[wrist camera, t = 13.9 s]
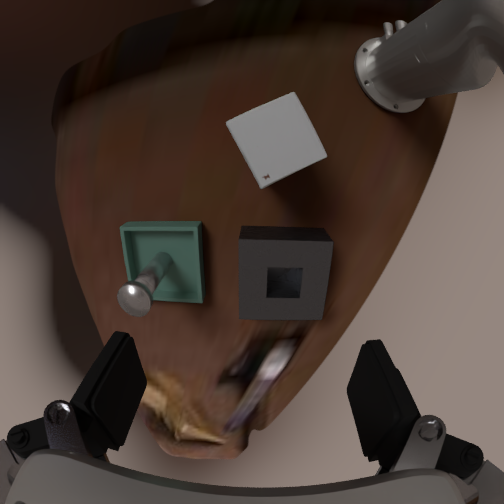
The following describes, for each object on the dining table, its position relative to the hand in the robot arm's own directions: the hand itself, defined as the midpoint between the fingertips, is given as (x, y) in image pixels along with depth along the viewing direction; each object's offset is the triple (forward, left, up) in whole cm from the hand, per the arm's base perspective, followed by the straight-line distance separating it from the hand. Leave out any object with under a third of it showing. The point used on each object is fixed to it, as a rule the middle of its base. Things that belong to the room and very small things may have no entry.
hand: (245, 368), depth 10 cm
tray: (+9, -14, -30) cm, 34 cm away
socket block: (+9, +4, -30) cm, 32 cm away
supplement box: (-9, +2, -31) cm, 32 cm away
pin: (+9, -14, -30) cm, 34 cm away
